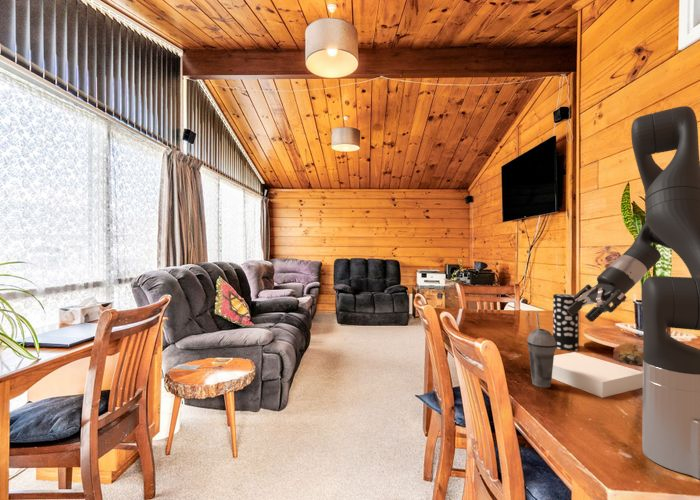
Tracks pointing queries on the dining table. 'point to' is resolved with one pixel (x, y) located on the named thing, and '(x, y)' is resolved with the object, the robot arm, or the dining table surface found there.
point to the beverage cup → (541, 356)
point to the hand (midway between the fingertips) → (578, 316)
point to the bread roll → (629, 353)
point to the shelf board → (595, 374)
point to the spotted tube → (565, 323)
